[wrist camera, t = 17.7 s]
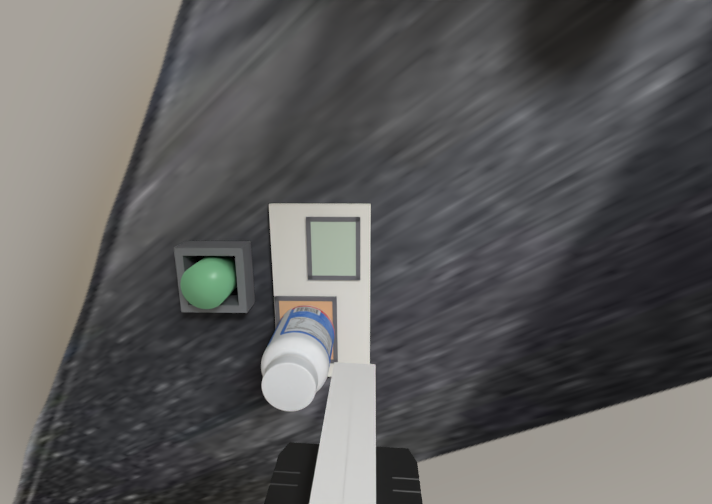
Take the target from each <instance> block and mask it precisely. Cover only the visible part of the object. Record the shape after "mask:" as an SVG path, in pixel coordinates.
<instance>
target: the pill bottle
mask: <svg viewBox="0 0 712 504" xmlns="http://www.w3.org/2000/svg"><path fill="white" fill-rule="evenodd" d="M334 336H335V331H334V326H333V323H332V321H331V319H330V317H329V316H328V315H327V314H326V313H325V312H324V311H323V310H321V309H319V308H317V307H314V306H309V305H302V306H297V307H294V308H292V309H290V310H288V311H287V312H286V313H285V314H284V315H283V317H282V318H281V319H280V321H279V323H278V325H277V327H276V329H275V331H274V333H273V335H272V337H271V339H270V342H269V344H268V345H267V347H266V349H265V352H264V354H263V357H262V360H261V372H262V376H263V379H262V385H261V386H262V392H263V395H264V397H265V398H266V400H267V401H268V402H269V403H270V404H271V405H272V406H274V407H275V408H277V409H280V410H283V411H297V410H300V409H303V408H305V407H306V406H307V405H308V404H310V403H311V401H312V400H313V398H314V396H315V393H316V392H317V391H318V390H319V389H320V388H321V387H322V386H323V384H324V383H325V381H326V379H327V376H328V372H329V367H330V360H331V354H332V348H333V343H334Z"/></svg>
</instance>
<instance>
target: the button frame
mask: <svg viewBox="0 0 712 504" xmlns="http://www.w3.org/2000/svg"><path fill="white" fill-rule="evenodd" d="M174 254H175V263H176V271H177V279H178V288H179V296H180V305H181V312H209V313H248V311H249V310H250V308H251V307H252V306H253V304H254V303H255V293H254V279H253V265H252V250H251V241H185V242H184V243H182V244H180V245H178V246H176V247H174ZM196 256H235V264H236V276H237V289H238V295H229V296H228V297H227V298H226V299H225V300H224V301H223V302H222V303H221V304H220V305H219V306H217V307H215V308H212V309H201V308H197V307H195V306H193V305H192V304H190V303H189V302H188V301H187V300H186V299H185V297H184V296H183V294H182V291H181V285H180V283H181V278H182V275H183V274H184V272H185V271H186V270H187V269H188V268H190V267H191V266H193V265H194V264H196Z"/></svg>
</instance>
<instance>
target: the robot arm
mask: <svg viewBox="0 0 712 504" xmlns="http://www.w3.org/2000/svg"><path fill="white" fill-rule="evenodd" d="M264 504H422V497H421V489H420V481H419V474H418V466H417V462H416V460H415V458H414V457H413V455H412V454H411V452H410V451H409V449H405V448H389V447H376V393H375V364H357V363H339V362H334V366H333V372H332V378H331V383H330V389H329V395H328V400H327V406H326V411H325V417H324V423H323V428H322V434H321V440H320V444H306V443H289V444H288V445H287V446H286V447H285V448H284V450H283V451H282V452H281V453H280V454H279V456H278V459H277V463H276V466H275V469H274V473H273V476H272V479H271V484H270V486H269V489H268V493H267V496H266V499H265V503H264Z"/></svg>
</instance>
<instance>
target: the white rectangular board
mask: <svg viewBox="0 0 712 504" xmlns="http://www.w3.org/2000/svg"><path fill="white" fill-rule="evenodd" d="M269 219H270V237H271V254H272V272H273V289H274V307H275V324H276V327H277V325H278V323H279V321H280V319H281V318H282V317H283V315H284V314H285V313H286V312H287V311H288V310H290V309H292V308H294V307H297V306H302V305H309V306H314V307H317V308H319V309H321V310H323V311H324V312H325V313H326V314H327V315H328V316H329V317H330V319H331V321H332V323H333V326H334V331H335V336H334V343H333V348H332V354H331V360H330V367H329V372H328V376H327V377H332V372H333V366H334V362H339V363H357V364H370V230H371V204H360V203H270V204H269Z"/></svg>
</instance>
